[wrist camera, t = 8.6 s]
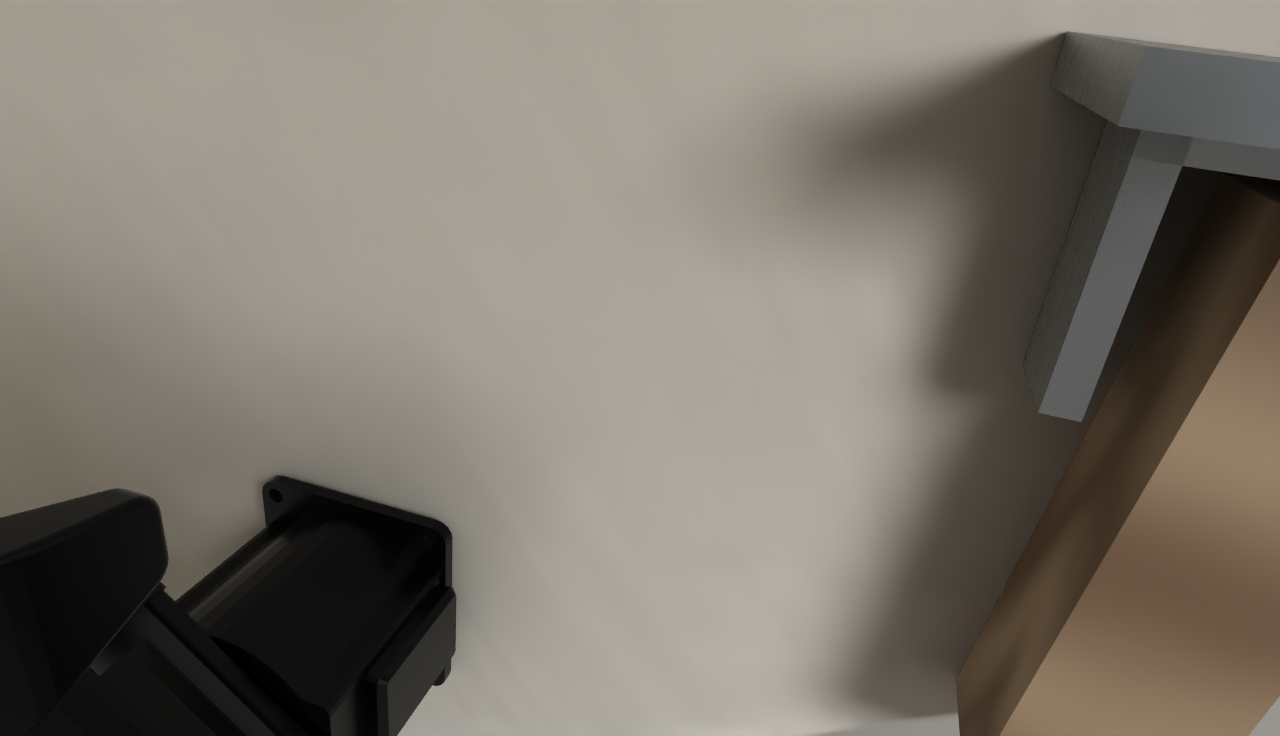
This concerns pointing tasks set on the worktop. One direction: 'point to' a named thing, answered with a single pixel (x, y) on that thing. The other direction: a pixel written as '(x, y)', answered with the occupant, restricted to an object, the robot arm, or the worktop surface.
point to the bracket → (1139, 184)
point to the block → (1160, 521)
